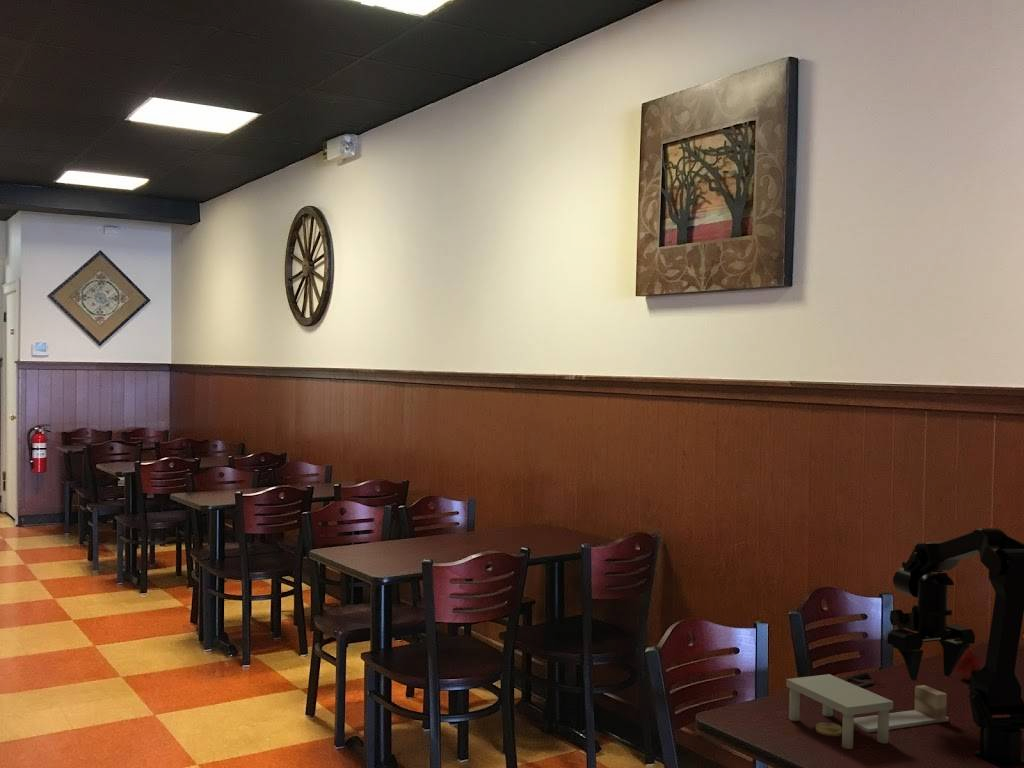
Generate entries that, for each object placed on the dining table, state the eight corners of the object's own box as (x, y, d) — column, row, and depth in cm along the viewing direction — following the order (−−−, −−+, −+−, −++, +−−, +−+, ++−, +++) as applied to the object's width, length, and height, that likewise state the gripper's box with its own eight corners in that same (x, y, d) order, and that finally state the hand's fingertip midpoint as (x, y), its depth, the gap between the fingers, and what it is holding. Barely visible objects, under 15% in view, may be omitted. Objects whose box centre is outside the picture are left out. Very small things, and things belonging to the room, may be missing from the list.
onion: (947, 677, 231) (948, 643, 231) (964, 674, 233) (965, 641, 233) (968, 684, 225) (969, 650, 225) (985, 681, 228) (986, 647, 228)
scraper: (948, 722, 200) (949, 693, 200) (868, 734, 192) (868, 704, 192) (926, 713, 206) (927, 684, 206) (847, 724, 198) (847, 694, 198)
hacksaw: (865, 676, 231) (865, 670, 231) (903, 689, 222) (903, 682, 222) (795, 692, 218) (795, 685, 218) (833, 706, 209) (833, 698, 209)
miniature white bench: (892, 742, 187) (893, 701, 187) (846, 749, 183) (848, 707, 183) (828, 712, 204) (829, 674, 204) (785, 718, 200) (786, 679, 199)
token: (847, 735, 191) (847, 729, 191) (827, 738, 189) (827, 732, 189) (830, 726, 196) (830, 720, 196) (810, 730, 194) (810, 724, 194)
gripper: (935, 592, 213) (934, 663, 213) (869, 597, 206) (867, 671, 206) (977, 603, 203) (975, 678, 203) (909, 609, 196) (906, 686, 196)
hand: (930, 678), depth 202 cm, fingers open, 9 cm apart
